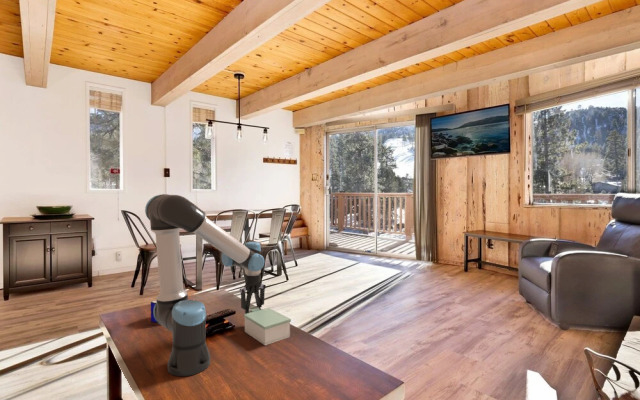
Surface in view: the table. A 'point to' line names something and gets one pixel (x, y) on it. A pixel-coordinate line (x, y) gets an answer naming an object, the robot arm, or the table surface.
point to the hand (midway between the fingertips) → (252, 320)
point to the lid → (266, 317)
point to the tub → (267, 332)
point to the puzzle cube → (152, 311)
